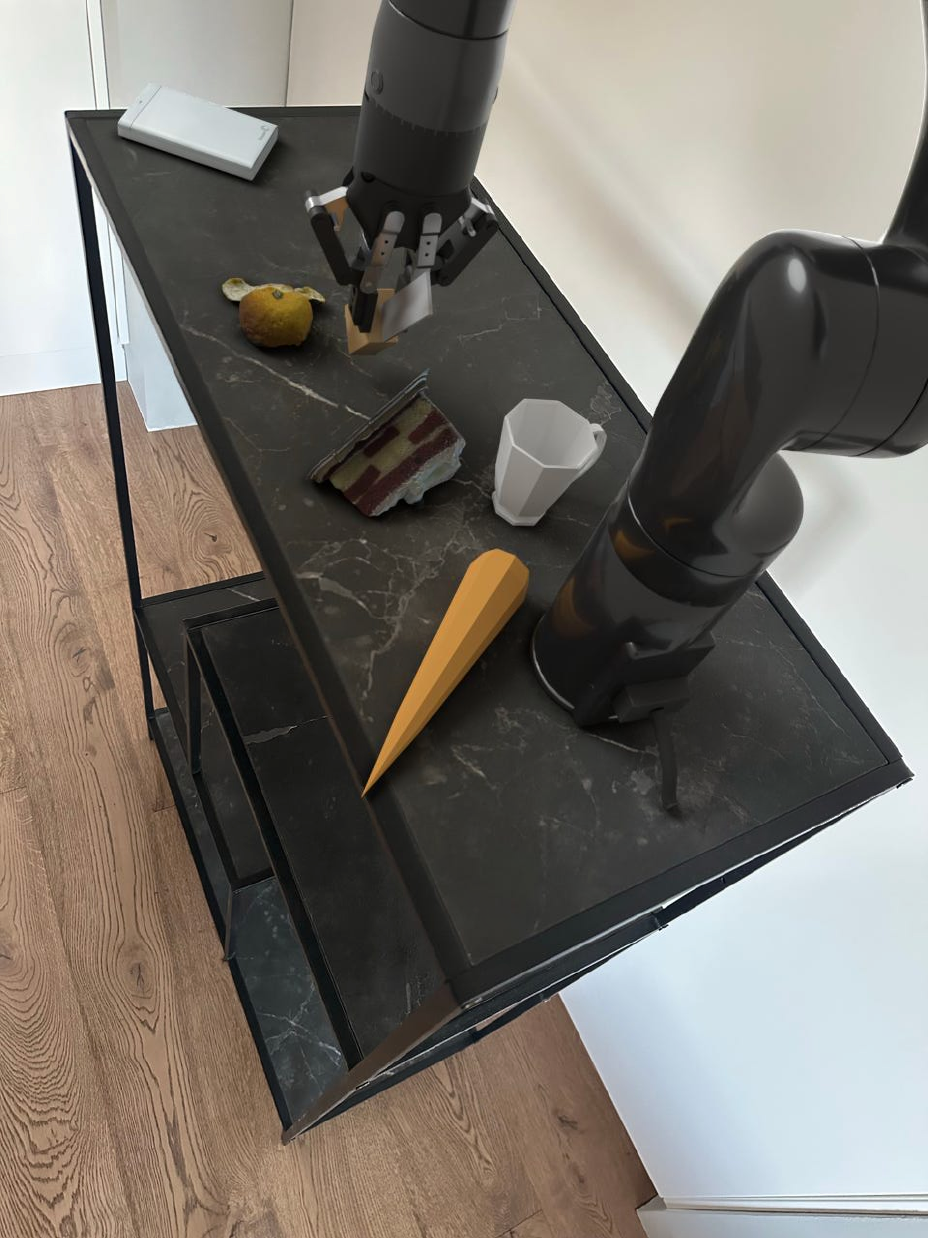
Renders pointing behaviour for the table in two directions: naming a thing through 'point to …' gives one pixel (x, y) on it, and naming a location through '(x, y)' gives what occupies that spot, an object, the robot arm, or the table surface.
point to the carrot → (457, 645)
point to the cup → (541, 458)
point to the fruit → (273, 311)
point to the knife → (391, 317)
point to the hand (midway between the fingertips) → (379, 324)
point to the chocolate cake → (395, 453)
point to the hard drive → (198, 130)
